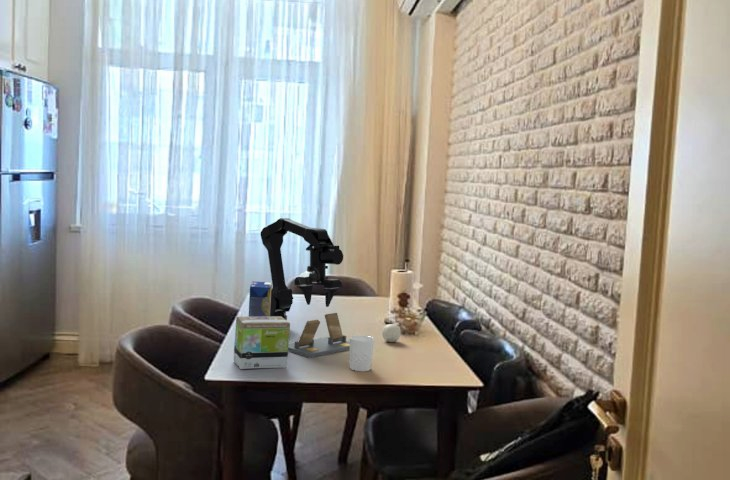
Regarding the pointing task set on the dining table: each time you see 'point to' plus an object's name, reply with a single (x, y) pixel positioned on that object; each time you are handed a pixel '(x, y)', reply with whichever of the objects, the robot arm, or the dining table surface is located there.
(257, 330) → the tea box
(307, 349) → the twin lever plate
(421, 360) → the dining table surface
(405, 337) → the dining table surface
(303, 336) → the lever
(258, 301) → the beverage box
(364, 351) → the white cup
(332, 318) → the lever
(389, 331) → the baseball
